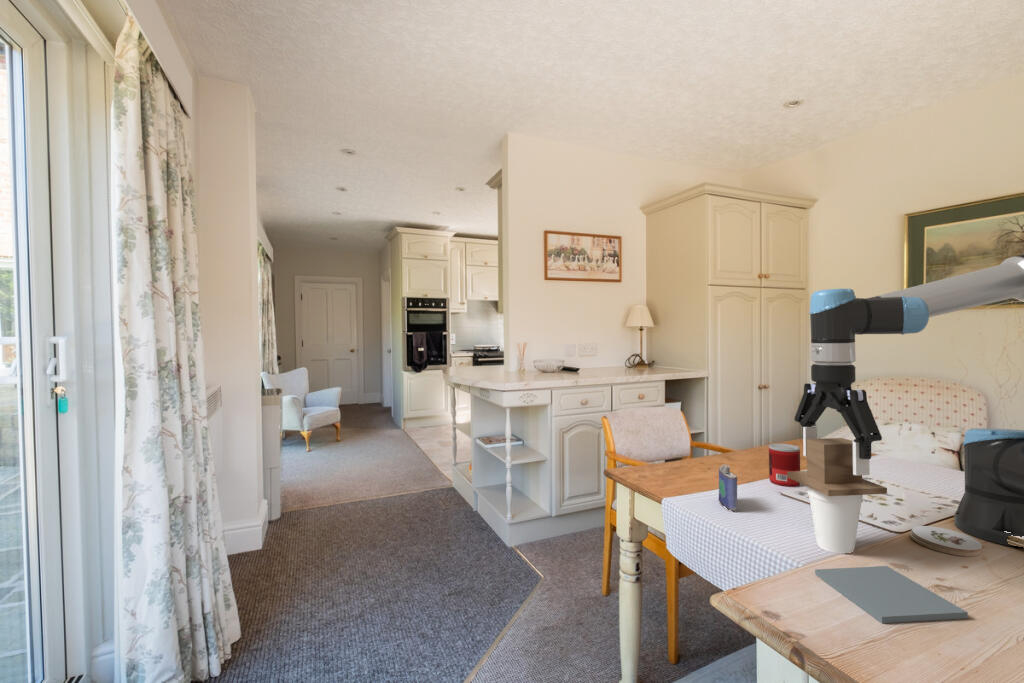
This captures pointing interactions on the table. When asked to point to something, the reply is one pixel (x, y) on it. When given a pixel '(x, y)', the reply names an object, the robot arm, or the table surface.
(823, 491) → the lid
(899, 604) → the mat
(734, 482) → the flask
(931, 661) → the table surface
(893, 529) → the table surface
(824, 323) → the robot arm
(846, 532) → the foam cup
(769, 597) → the table surface
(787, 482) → the canned food
